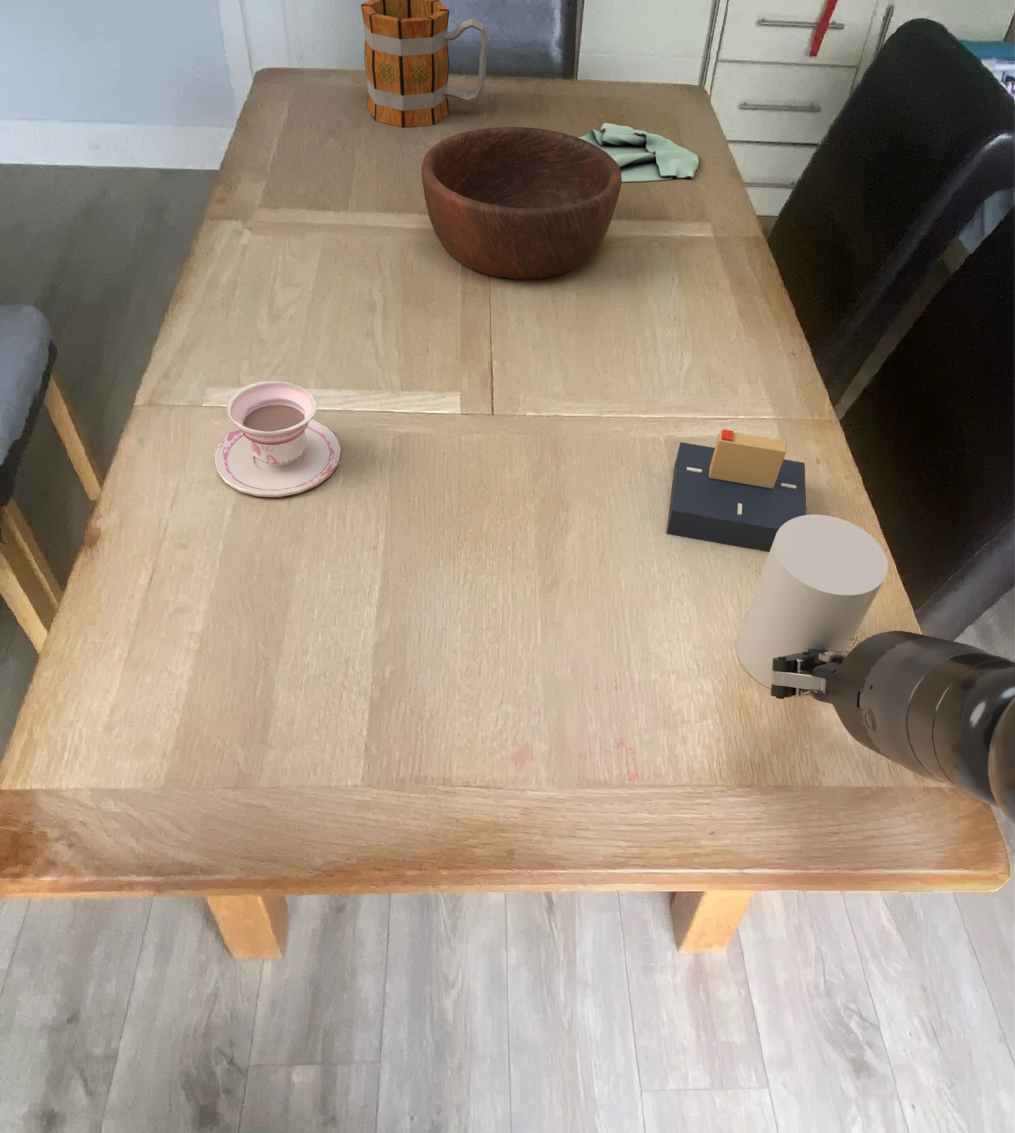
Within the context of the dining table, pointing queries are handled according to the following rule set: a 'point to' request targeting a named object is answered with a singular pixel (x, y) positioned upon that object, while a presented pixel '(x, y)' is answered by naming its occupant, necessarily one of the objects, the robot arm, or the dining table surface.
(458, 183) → the wooden bowl
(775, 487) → the console
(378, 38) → the mug
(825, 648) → the beige solid cylinder
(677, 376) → the dining table surface
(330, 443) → the teacup
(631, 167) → the cloth
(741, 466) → the tan rectangular block
